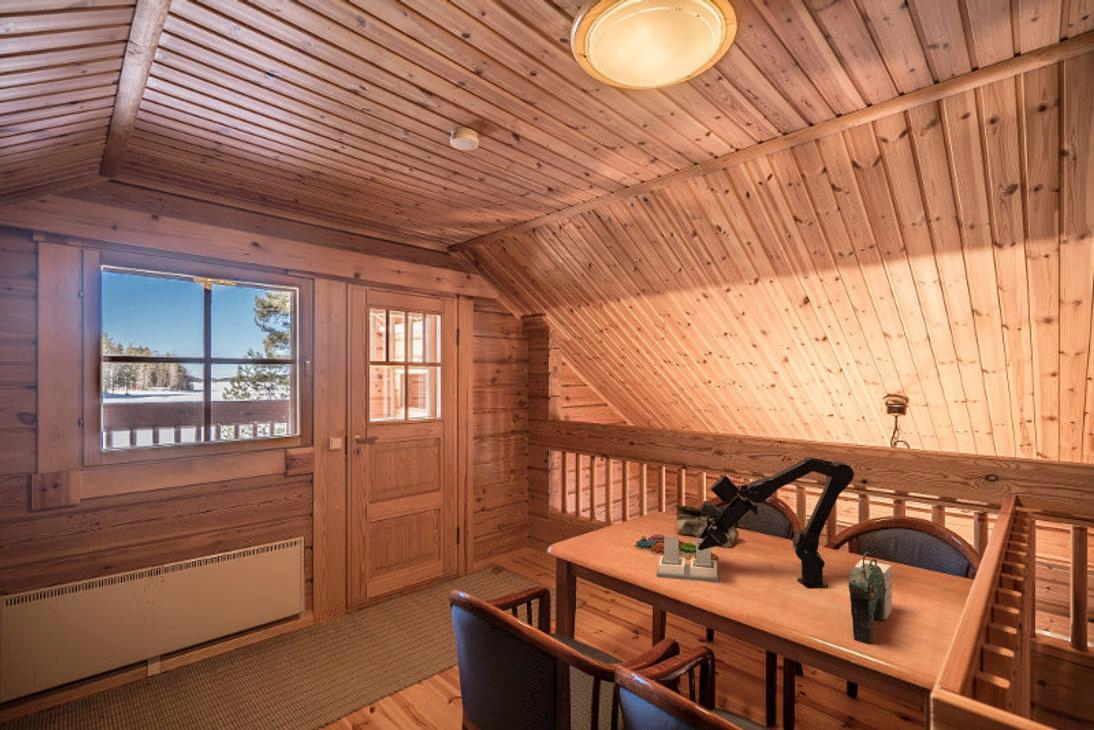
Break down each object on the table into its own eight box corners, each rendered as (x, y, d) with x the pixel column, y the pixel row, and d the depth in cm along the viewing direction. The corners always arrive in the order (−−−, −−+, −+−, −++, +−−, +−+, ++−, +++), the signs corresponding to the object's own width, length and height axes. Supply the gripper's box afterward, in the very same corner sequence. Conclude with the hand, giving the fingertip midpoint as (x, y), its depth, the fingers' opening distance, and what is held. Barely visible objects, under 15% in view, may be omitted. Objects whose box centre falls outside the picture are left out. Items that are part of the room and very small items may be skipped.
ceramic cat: (873, 649, 126) (870, 563, 126) (842, 640, 130) (840, 557, 130) (891, 618, 140) (889, 542, 141) (863, 611, 145) (861, 537, 145)
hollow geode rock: (676, 543, 221) (658, 521, 215) (690, 517, 226) (672, 495, 221) (736, 559, 198) (717, 535, 192) (749, 530, 204) (731, 506, 198)
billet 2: (710, 569, 175) (710, 538, 175) (711, 574, 171) (710, 543, 171) (696, 568, 176) (695, 538, 177) (696, 573, 172) (695, 542, 172)
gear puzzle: (727, 558, 190) (727, 546, 190) (701, 570, 179) (701, 558, 179) (656, 538, 213) (656, 528, 213) (630, 548, 203) (629, 537, 203)
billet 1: (679, 567, 178) (678, 536, 178) (678, 571, 174) (678, 541, 174) (665, 565, 179) (665, 535, 179) (664, 570, 175) (664, 540, 175)
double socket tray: (718, 569, 178) (717, 559, 178) (718, 582, 167) (718, 571, 167) (659, 564, 183) (659, 554, 183) (656, 576, 173) (656, 565, 173)
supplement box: (854, 612, 145) (853, 565, 145) (862, 603, 150) (861, 558, 150) (886, 620, 140) (884, 572, 140) (893, 611, 145) (891, 564, 145)
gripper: (714, 487, 182) (681, 518, 185) (715, 500, 164) (679, 534, 167) (739, 512, 179) (706, 542, 182) (743, 528, 162) (706, 561, 165)
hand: (699, 544), depth 174 cm, fingers open, 9 cm apart
